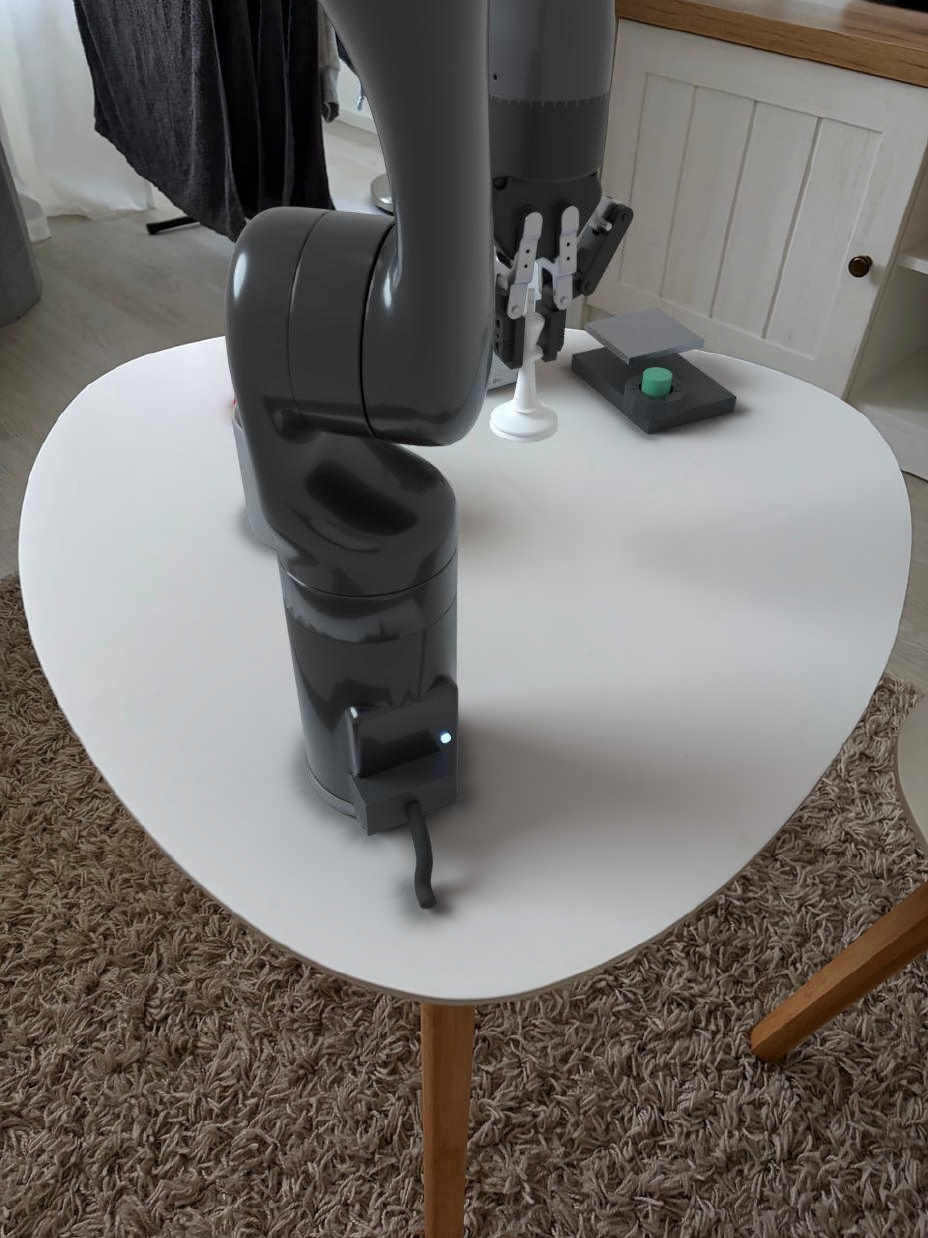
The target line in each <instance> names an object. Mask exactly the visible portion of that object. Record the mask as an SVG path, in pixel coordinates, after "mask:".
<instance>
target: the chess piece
mask: <svg viewBox="0 0 928 1238" xmlns="http://www.w3.org/2000/svg"><path fill="white" fill-rule="evenodd" d="M535 292H536V288H534V287H533V288H531V287H527V297H526V298H527V300H526V311H524V312H523V314H522V315H523V316H524V317H525V334H524V352H523V366H522V367H521V368H518V373H517V381H516V384H515V390H514V395H513V398H512V399H510V401H506V402H503V403H501V404H499V405H498V406H496V407H495V408H494V409H493V410H492V411H491V414H490V420H489V427H490V430H491V431H492V432H493V434H495V435H496V436H497V437H499V438H502V439H504V440H507V441H510V442H514V443H523V444H524V443H537V442H541V441H544V440H545V441H546V440H547V439H549V438H551V437H553V436H554V435H555V434H557V432H558V430H559V422H558V421H559V417H558V413H557V412H556V411H555V410H554V409H553V408H552V407H551V406H549V405H548V404H545V403H543V402H541V401H539V400H538V396H537V383H536V364H535V361H538V360H541V359H540V358H542V357H543V355H544V353H543V349H542V348H541V347H540V346H538V345H536V343H537V341H538V338H539V335H540V333H541V330H542V328H543V326H544V323H545V319H544V317H543V316H542V315H541V314H538V313H535V300H536V299H535V298H536V297H535V296H536V295H535Z"/></svg>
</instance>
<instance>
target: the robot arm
mask: <svg viewBox="0 0 928 1238" xmlns="http://www.w3.org/2000/svg"><path fill="white" fill-rule="evenodd" d="M317 2H318V4H319V5H320V7H321V8H322V10H323V12H324V14H325V16H326V17H327V20H328V21H329V23H330V24H331V26H332V28H333V31H334V32H335V34H336V36H337V38H338V39H339V42H340V43H341V45H342V47H343V48H344V51H345V53H346V55H347V57H348V59H349V61H350V63H351V65H352V68H353V70H354V72H355V74H356V76H357V79H358V81H359V83H360V86H361V88H362V91H363V93H364V96H365V98H366V101H367V104H368V106H369V110H370V113H371V116H372V119H373V122H374V126H375V129H376V132H377V137H378V140H379V144H380V148H381V149H380V150H381V152H382V156H383V161H384V166H385V172H386V176H387V181H388V186H389V192H390V199H391V204H392V211H393V216H391V215H384V214H383V215H382V214H374V213H373V214H372V213H366V212H365V213H363V212H357V211H356V212H354V211H345V210H334V209H326V208H315V207H304V206H289V205H288V206H287V205H286V206H285V205H284V206H275V207H271V208H268V209H265V210H262V211H260V212H259V213H257V214H256V215H254V216H253V218H251V219H250V220H249V222H247V223H246V224H245V226H244V228H243V229H242V230H241V232H240V234H239V236H238V237H237V239H236V242H235V243H234V245H233V248H232V251H231V255H230V259H229V262H228V267H227V272H226V277H225V284H224V292H223V293H224V294H223V295H224V296H223V328H224V338H225V339H224V340H225V347H226V348H225V350H226V357H227V365H228V370H229V375H230V380H231V385H232V389H233V390H232V391H233V395H234V397H235V400H236V405H237V409H238V413H239V417H240V422H241V426H242V430H243V434H244V439H245V443H246V447H247V451H248V456H249V461H250V465H251V470H252V474H253V479H254V485H255V490H256V495H257V500H258V504H259V508H260V511H261V514H262V517H263V519H264V522H265V523H266V525H267V527H268V529H269V530H270V532H271V533H272V535H273V536H274V540H275V547H276V550H275V553H276V560H277V566H278V572H279V579H280V586H281V593H282V602H283V608H284V615H285V622H286V628H287V635H288V641H289V648H290V649H289V650H290V655H291V660H292V669H293V675H294V681H295V688H296V695H297V701H298V708H299V714H300V721H301V727H302V732H303V739H304V745H305V763H306V769H307V774H308V779H309V781H310V784H311V785H312V787H313V789H314V791H315V792H316V793H317V795H318V796H319V797H320V798H321V799H322V800H323V801H324V802H325V803H327V804H328V805H329V806H331V807H332V808H334V809H336V810H337V811H339V812H342V813H344V814H346V815H348V816H352V817H354V818H356V820H357V821H358V823H359V825H360V827H361V828H362V829H363V830H365V832H366V835H367V836H368V837H371V836H373V835H376V834H378V833H381V832H384V831H386V830H389V829H393V828H394V827H397V826H399V825H402V824H405V823H407V824H408V827H409V832H410V834H411V838H412V842H413V847H414V855H415V869H414V875H413V883H414V892H415V895H416V899H417V901H418V904H419V906H420V908H421V909H422V910H428V909H431V908H433V907H435V906H436V905H437V898H436V896H435V893H434V891H433V888H432V887H433V886H432V874H433V868H434V855H433V847H432V843H431V838H430V837H431V836H430V834H429V830H428V827H427V823H426V820H425V817H424V816H425V815H429V814H430V813H434V812H436V811H439V810H441V809H444V808H447V807H449V806H452V805H454V804H456V796H457V795H459V706H460V705H459V704H460V703H459V701H460V700H459V695H460V691H459V689H460V688H459V686H458V583H459V582H458V581H459V580H458V578H459V576H458V575H459V574H458V573H459V572H458V571H459V566H458V565H459V541H458V540H459V511H458V509H459V508H458V501H457V497H456V493H455V491H454V488H453V487H452V485H451V483H450V481H449V480H448V478H447V477H446V476H445V475H444V473H443V472H442V471H441V470H440V469H439V468H438V467H436V466H435V465H434V464H433V463H432V462H430V461H429V460H427V459H426V458H425V457H423V456H421V455H420V454H418V453H416V452H414V451H412V450H411V449H408V448H406V447H405V446H414V447H426V448H427V447H428V448H434V447H448V446H452V445H453V444H455V443H457V442H459V441H461V440H463V439H464V438H465V437H466V436H467V435H468V434H469V433H470V432H471V430H473V428H474V427H475V425H476V423H477V422H478V420H479V417H480V414H481V412H482V410H483V407H484V405H485V402H486V397H487V393H488V390H487V389H488V385H489V380H490V375H491V368H492V359H493V350H494V353H495V355H496V356H498V357H499V358H500V360H501V361H502V362H503V363H504V364H505V365H506V366H507V367H508V368H509V369H511V370H513V369H517V370H519V368H521V367H522V366H523V352H524V334H525V317H524V316H523V315H522V314H523V312H525V308H526V307H525V306H526V301H527V300H526V298H527V293H528V285H529V284H531V283H532V282H533V278H534V273H535V272H534V270H535V266H536V265H535V263H536V264H537V276H538V277H537V279H538V281H537V282H538V293H539V295H540V299H535V300H534V312H535V313H538V314H541V315H542V316H543V317H544V319H545V323H544V326H543V328H542V330H541V333H540V335H539V338H538V341H537V343H536V345H538V346H540V347H541V348H542V349H543V353H544V355H543V357H542V358H540V359H539V360H541V361H543V363H549V362H555V361H557V359H558V353H559V352H561V351H562V349H563V347H564V345H565V333H566V323H567V310H568V308H569V307H571V304H572V303H573V300H574V299H576V298H578V297H580V296H584V297H589V296H591V295H593V294H594V292H595V291H596V289H597V288H598V286H599V284H600V282H601V280H602V278H603V276H604V274H605V273H606V270H607V268H608V267H609V264H610V263H611V261H612V259H613V257H614V255H615V253H616V251H617V250H618V248H619V246H620V244H621V242H622V240H623V238H624V237H625V235H626V233H627V231H628V230H629V227H630V225H631V224H632V222H633V220H634V216H635V215H634V210H633V209H632V208H631V207H629V206H628V205H626V204H625V203H623V201H620V200H618V199H616V198H613V197H612V196H610V195H604V194H603V187H602V186H603V185H602V183H601V181H600V178H599V173H598V170H599V169H600V168H601V166H602V165H603V162H604V153H605V142H606V132H607V125H608V123H607V122H608V112H609V103H610V91H611V83H612V72H613V62H614V51H615V41H616V40H615V38H616V14H615V12H616V8H615V6H616V5H615V4H616V3H615V0H317ZM585 226H586V227H585ZM583 230H584V231H583ZM582 231H583V232H582ZM581 233H582V235H581ZM580 235H581V236H580ZM579 236H580V238H579V240H578V237H579ZM403 445H405V446H403Z"/></svg>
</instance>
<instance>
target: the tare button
mask: <svg viewBox="0 0 928 1238" xmlns="http://www.w3.org/2000/svg"><path fill="white" fill-rule="evenodd" d="M671 382H672V373H671V372H670V371H669V370H667V369H664V368H659V367H653V368H648V369H646V370H645V371H644V373H643V381H642V388H641V391H642V392H643V393H645V394H648V395H651V396H665V395H669V393H670V388H671Z"/></svg>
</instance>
